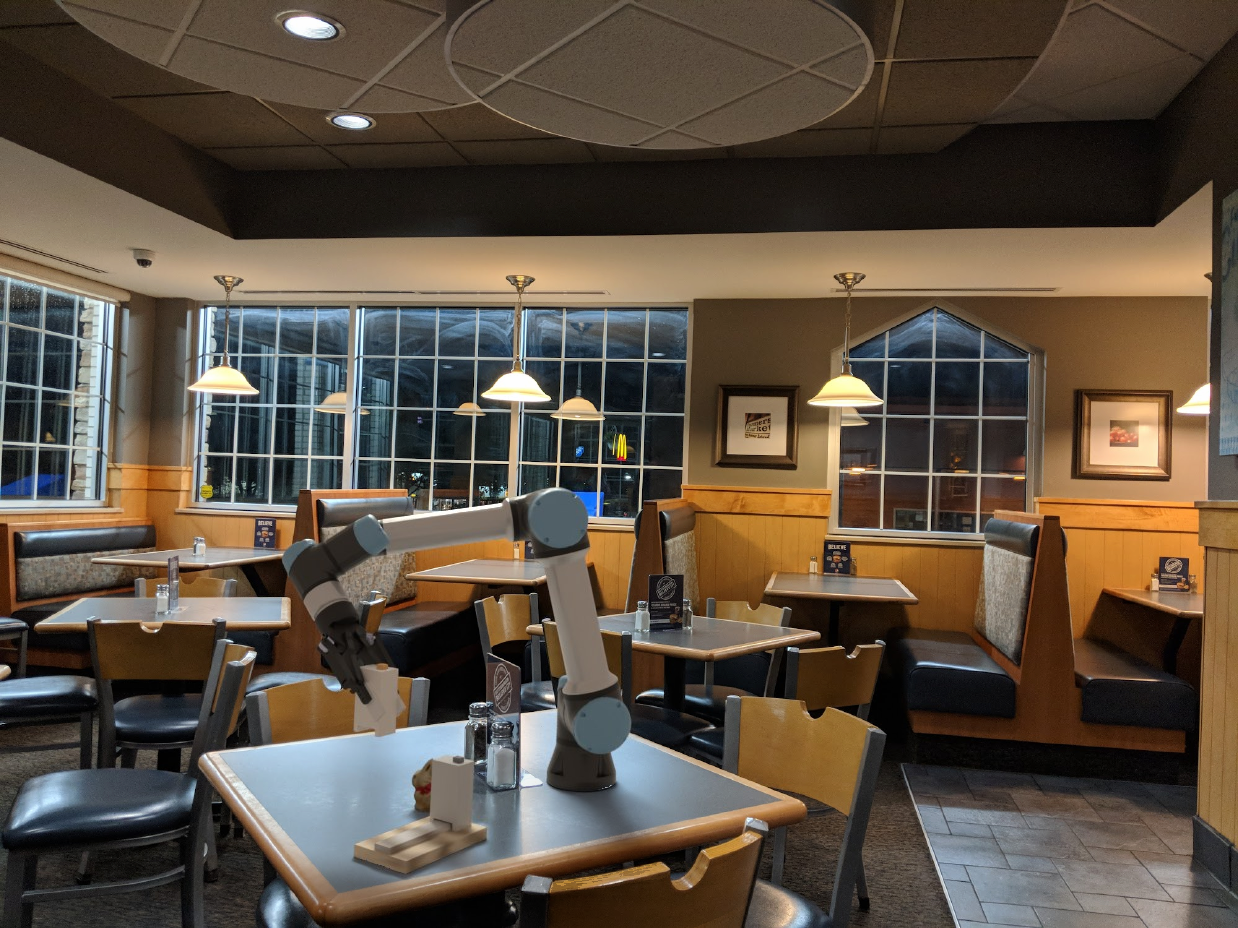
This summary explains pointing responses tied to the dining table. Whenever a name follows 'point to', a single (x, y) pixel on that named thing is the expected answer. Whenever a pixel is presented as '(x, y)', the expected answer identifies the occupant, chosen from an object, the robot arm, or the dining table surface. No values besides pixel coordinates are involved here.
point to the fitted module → (452, 791)
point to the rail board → (417, 844)
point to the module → (386, 690)
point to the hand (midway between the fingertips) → (390, 714)
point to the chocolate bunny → (423, 787)
